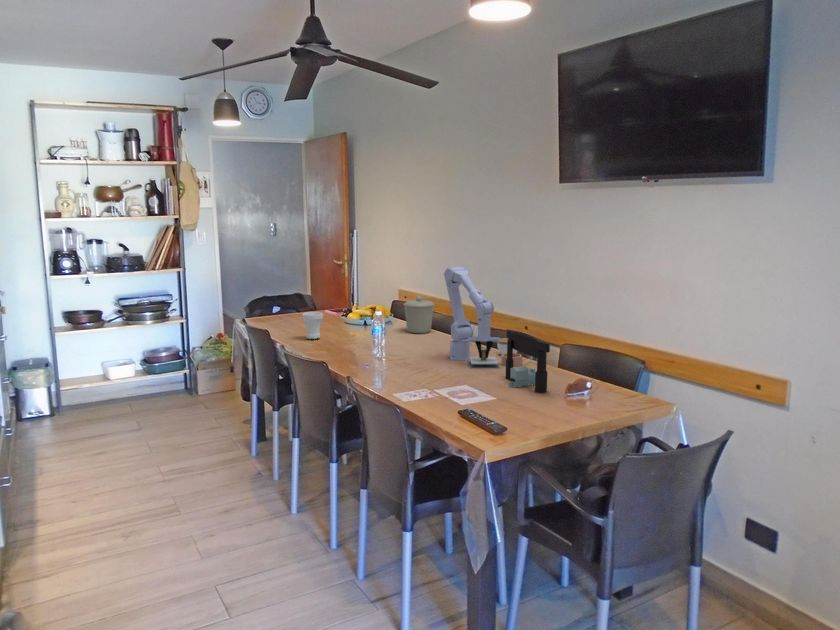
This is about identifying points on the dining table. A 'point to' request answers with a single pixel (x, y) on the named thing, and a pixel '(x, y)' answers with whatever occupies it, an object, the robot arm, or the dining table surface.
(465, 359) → the robot arm
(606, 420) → the dining table surface
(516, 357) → the bowl
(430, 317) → the canister
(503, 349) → the lidded jar
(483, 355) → the lid
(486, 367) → the mat
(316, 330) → the cup
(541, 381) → the black arch frame
